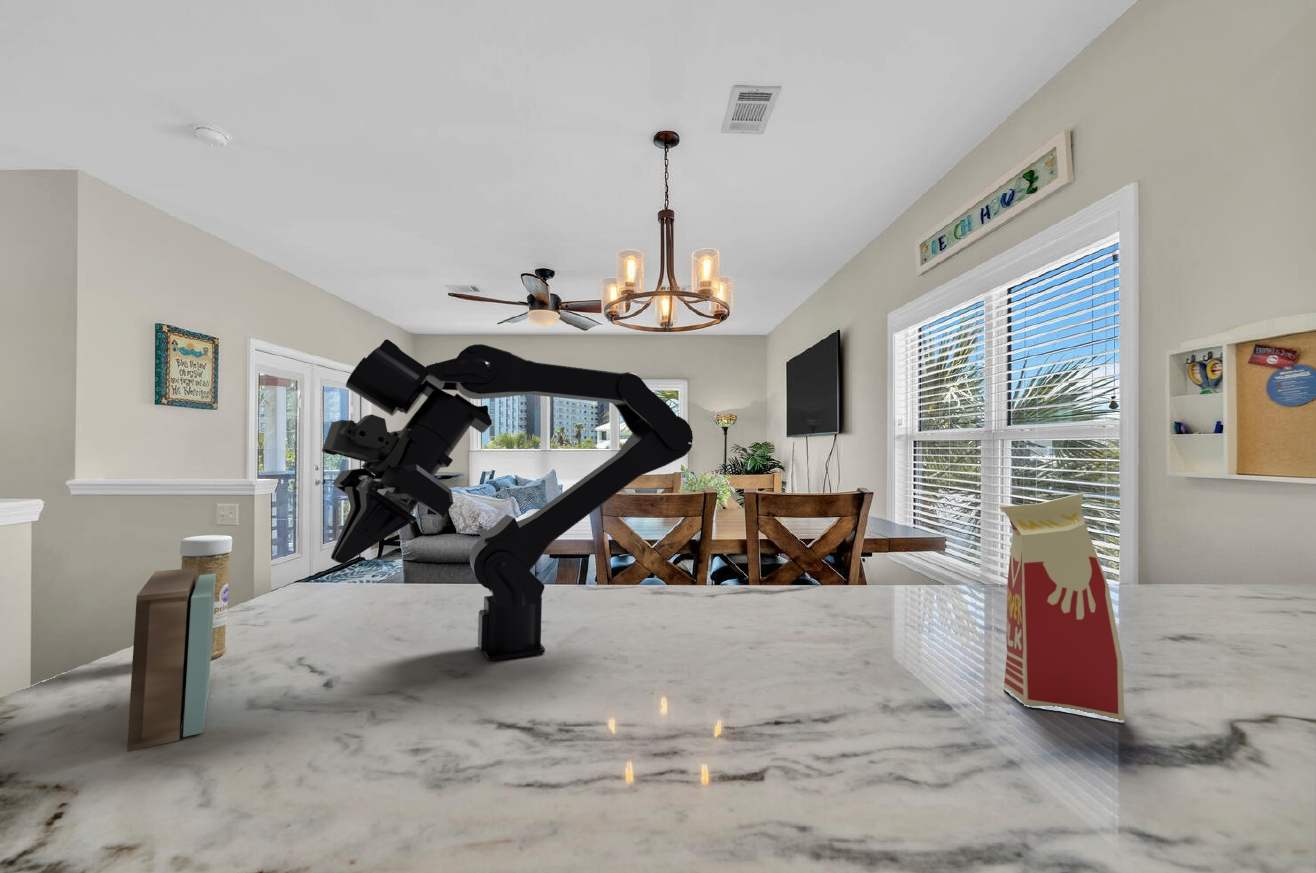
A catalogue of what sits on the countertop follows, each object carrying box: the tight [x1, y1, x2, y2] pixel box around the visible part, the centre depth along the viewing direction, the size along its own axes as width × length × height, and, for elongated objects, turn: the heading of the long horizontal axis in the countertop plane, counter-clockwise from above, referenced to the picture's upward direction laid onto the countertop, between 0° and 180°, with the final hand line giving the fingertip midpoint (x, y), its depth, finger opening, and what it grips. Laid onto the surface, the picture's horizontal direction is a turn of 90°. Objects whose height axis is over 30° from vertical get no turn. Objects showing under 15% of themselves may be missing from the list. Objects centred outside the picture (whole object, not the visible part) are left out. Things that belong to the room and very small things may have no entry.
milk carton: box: [998, 492, 1125, 721], centre depth 55 cm, size 9×9×20 cm
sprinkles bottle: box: [179, 534, 233, 660], centre depth 63 cm, size 5×5×14 cm
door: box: [182, 574, 216, 738], centre depth 50 cm, size 1×12×11 cm, turn 37°
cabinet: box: [126, 568, 197, 752], centre depth 48 cm, size 3×12×12 cm, turn 37°
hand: (336, 561), depth 56 cm, fingers closed
